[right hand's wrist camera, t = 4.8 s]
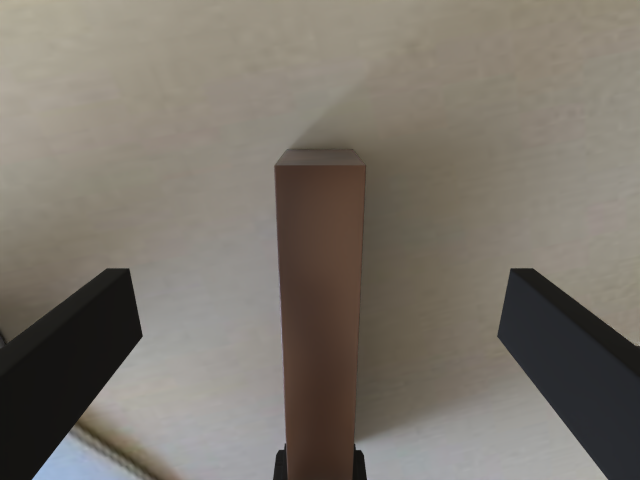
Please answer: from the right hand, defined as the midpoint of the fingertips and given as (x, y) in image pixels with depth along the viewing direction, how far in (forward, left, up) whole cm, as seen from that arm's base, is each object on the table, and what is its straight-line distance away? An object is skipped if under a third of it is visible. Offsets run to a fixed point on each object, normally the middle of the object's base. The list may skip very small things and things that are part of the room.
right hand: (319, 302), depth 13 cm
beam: (0, +12, -17) cm, 20 cm away
